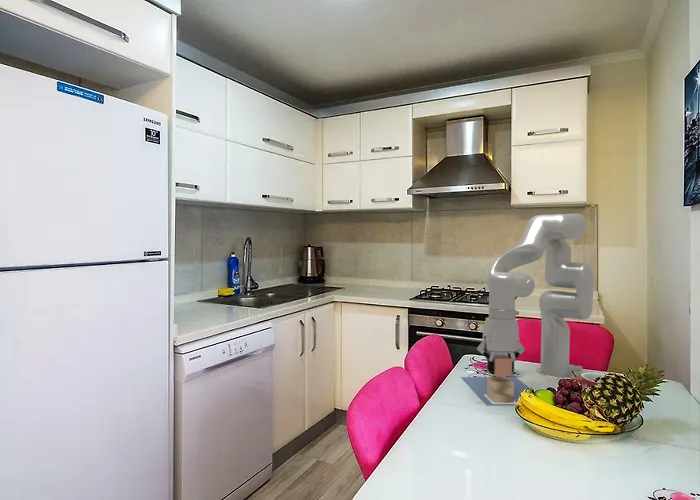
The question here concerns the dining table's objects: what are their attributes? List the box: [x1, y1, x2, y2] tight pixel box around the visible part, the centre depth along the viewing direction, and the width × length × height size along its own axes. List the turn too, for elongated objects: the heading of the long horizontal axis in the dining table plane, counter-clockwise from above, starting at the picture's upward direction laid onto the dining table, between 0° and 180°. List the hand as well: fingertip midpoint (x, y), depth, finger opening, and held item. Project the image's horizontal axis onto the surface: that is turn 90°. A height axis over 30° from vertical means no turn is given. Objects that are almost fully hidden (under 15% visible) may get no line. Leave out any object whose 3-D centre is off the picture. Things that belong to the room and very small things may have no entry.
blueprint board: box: [460, 376, 530, 407], centre depth 138 cm, size 20×26×1 cm
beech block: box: [486, 376, 514, 403], centre depth 130 cm, size 6×6×6 cm
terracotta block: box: [493, 355, 513, 377], centre depth 129 cm, size 5×5×5 cm
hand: (500, 372), depth 129 cm, fingers closed on terracotta block, 4 cm apart
